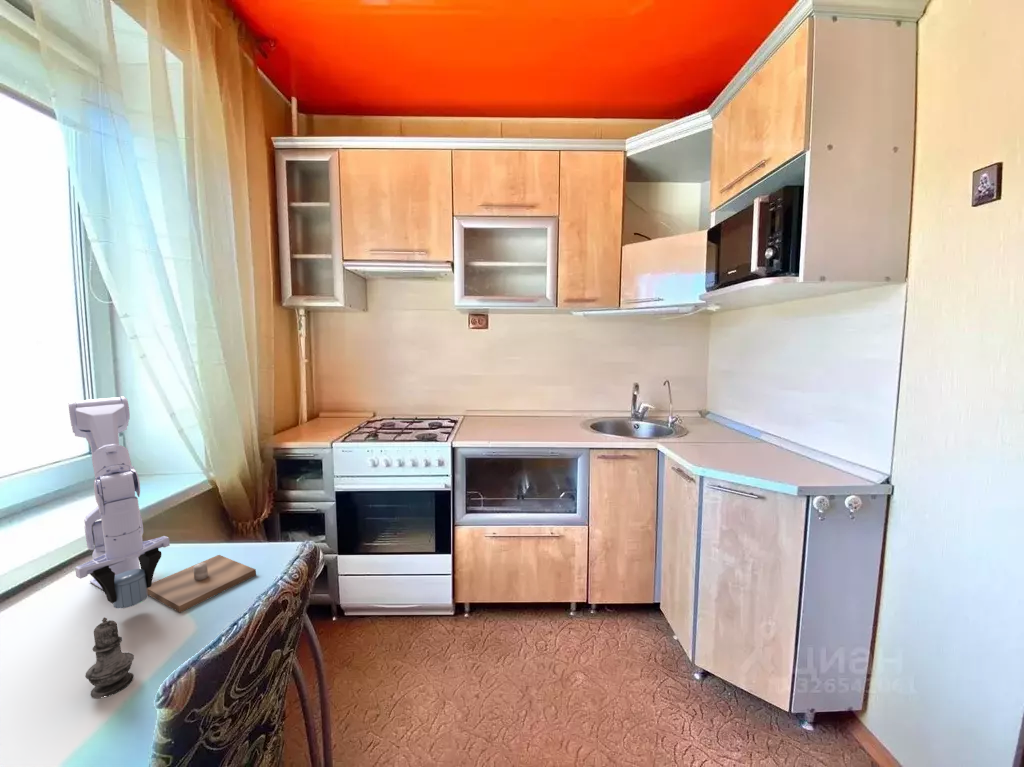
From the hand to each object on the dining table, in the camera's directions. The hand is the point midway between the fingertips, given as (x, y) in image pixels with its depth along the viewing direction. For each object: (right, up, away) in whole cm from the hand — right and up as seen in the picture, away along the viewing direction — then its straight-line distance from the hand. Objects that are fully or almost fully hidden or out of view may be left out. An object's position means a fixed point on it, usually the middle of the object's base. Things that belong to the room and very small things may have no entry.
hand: (130, 593), depth 89 cm
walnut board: (+6, -4, +12) cm, 14 cm away
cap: (0, -2, 0) cm, 2 cm away
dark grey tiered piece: (+13, -7, -18) cm, 23 cm away
